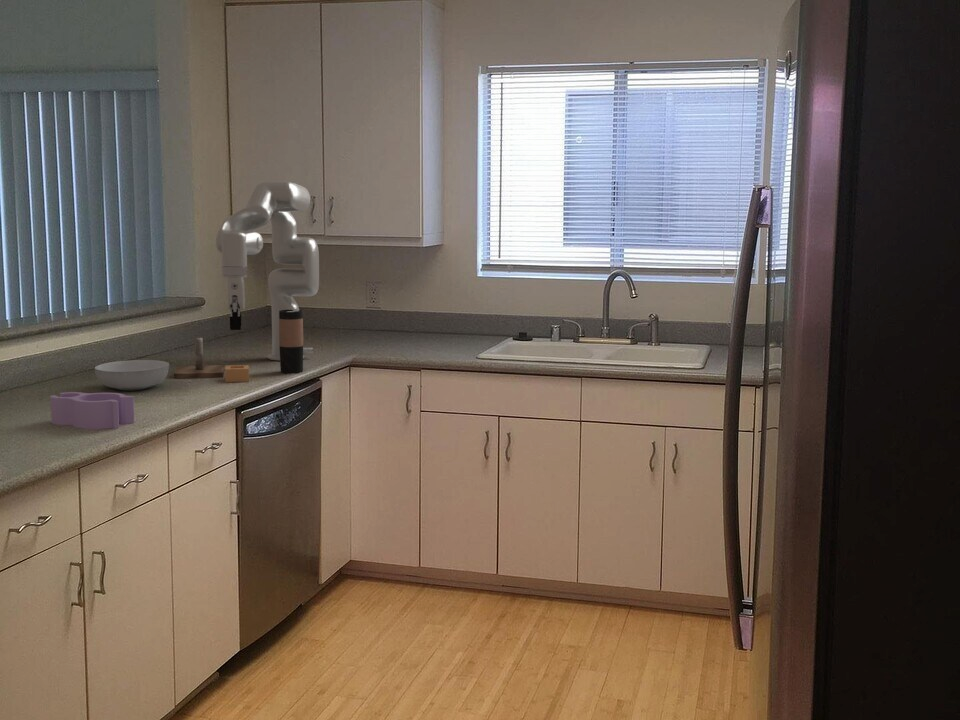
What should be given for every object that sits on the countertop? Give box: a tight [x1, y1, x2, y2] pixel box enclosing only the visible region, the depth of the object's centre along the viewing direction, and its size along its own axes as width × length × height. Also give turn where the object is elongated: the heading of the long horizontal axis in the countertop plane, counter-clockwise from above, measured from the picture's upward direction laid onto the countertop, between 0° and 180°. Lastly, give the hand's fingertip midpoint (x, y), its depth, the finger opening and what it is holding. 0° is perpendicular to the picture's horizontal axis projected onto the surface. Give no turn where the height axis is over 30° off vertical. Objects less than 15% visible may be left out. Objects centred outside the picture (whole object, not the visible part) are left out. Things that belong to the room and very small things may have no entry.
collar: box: [224, 364, 250, 383], centre depth 326 cm, size 7×7×4 cm
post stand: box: [173, 337, 226, 379], centre depth 335 cm, size 15×15×12 cm
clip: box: [49, 391, 136, 430], centre depth 262 cm, size 20×12×7 cm, turn 75°
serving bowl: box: [94, 359, 170, 391], centre depth 311 cm, size 21×21×7 cm
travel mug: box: [279, 309, 304, 374], centre depth 341 cm, size 8×8×20 cm
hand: (235, 328), depth 323 cm, fingers open, 9 cm apart
